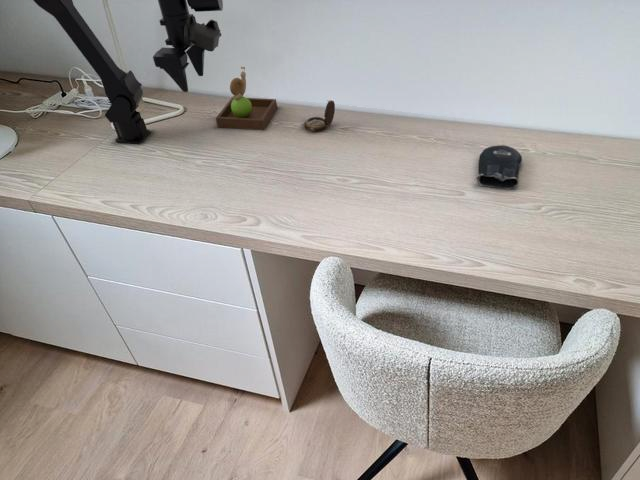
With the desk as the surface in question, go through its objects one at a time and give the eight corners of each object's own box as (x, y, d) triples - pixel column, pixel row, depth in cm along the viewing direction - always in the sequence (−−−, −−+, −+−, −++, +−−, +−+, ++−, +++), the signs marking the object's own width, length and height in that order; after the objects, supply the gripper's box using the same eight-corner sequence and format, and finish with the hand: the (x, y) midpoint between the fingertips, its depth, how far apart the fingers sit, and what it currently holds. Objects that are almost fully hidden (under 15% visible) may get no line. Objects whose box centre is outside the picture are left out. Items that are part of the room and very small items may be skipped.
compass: (308, 119, 131) (306, 93, 126) (337, 123, 129) (335, 96, 124) (298, 133, 125) (294, 106, 120) (327, 137, 124) (325, 110, 119)
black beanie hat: (519, 196, 106) (522, 153, 115) (520, 176, 102) (523, 132, 111) (475, 195, 109) (481, 153, 118) (475, 175, 105) (481, 133, 114)
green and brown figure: (259, 112, 133) (252, 68, 125) (245, 123, 129) (236, 77, 120) (243, 109, 135) (234, 64, 126) (229, 119, 130) (219, 73, 122)
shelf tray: (217, 127, 129) (215, 117, 127) (233, 106, 138) (232, 97, 136) (264, 129, 127) (262, 120, 125) (277, 108, 136) (276, 99, 134)
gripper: (193, 27, 99) (211, 102, 110) (225, 0, 112) (238, 69, 123) (141, 25, 100) (164, 99, 111) (179, -1, 114) (196, 68, 124)
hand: (193, 83), depth 117 cm, fingers open, 9 cm apart
